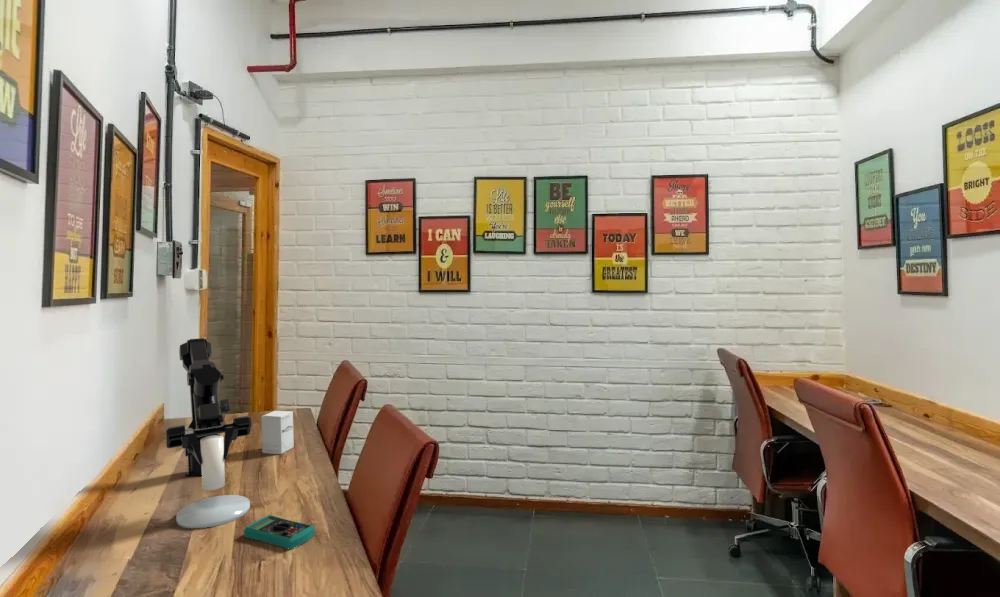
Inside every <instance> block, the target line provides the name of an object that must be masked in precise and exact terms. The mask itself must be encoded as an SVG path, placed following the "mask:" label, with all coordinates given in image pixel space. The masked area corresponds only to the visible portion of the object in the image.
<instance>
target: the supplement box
mask: <svg viewBox="0 0 1000 597" xmlns="http://www.w3.org/2000/svg"><path fill="white" fill-rule="evenodd" d="M260 417H261V452H262V454H269V455H270V454H272V455H282V454H284V453H285V452H287V451H289V450H291V449H293V448H295V446H294V443H295V442H294V440H295V439H294V411H293V410H292V411H289V410H273V411H271V412H268V413H266V414H264V415H262V416H260Z"/></svg>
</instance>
